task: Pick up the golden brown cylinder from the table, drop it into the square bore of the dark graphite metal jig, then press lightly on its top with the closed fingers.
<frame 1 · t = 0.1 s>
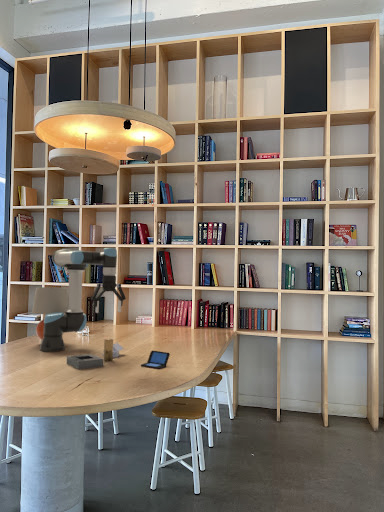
hand: (108, 312, 238), 28 cm above the table, tool pointing down, fingers open, 13 cm apart
golden brown cylinder: (108, 360, 239), on the table
lamp: (49, 344, 288), on the table
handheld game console: (155, 367, 228), on the table
wedge on round base: (112, 355, 254), on the table
jig block: (84, 365, 226), on the table
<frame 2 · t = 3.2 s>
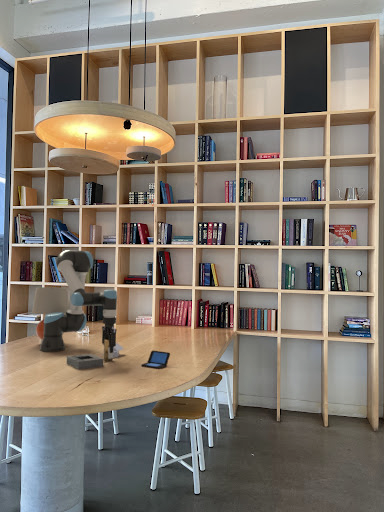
hand: (108, 357, 239), 2 cm above the table, tool pointing down, fingers closed on golden brown cylinder, 5 cm apart
golden brown cylinder: (108, 360, 239), on the table, touching gripper
everything else where it was.
when the fingers open (6 cm above the table, at t = 8.5 s): golden brown cylinder drops 3 cm, resting on jig block.
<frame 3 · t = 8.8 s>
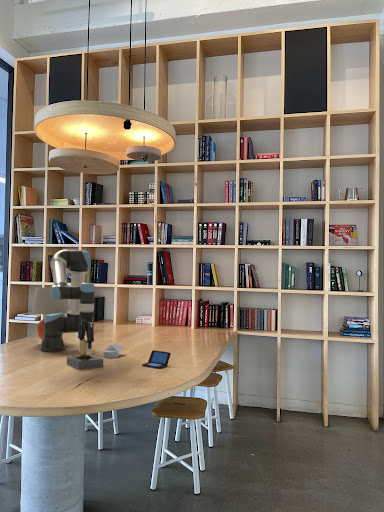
hand: (85, 353, 226), 6 cm above the table, tool pointing down, fingers open, 8 cm apart
golden brown cylinder: (84, 362, 226), point 1 cm above the table, touching jig block
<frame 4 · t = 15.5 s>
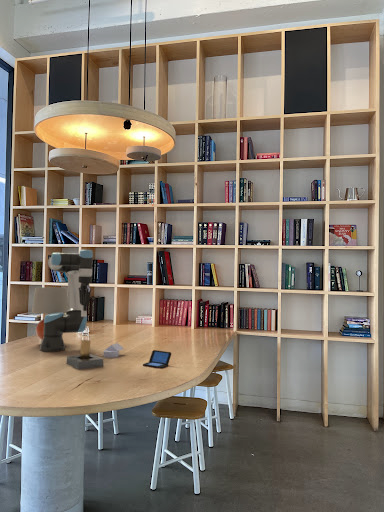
hand: (83, 316, 244), 24 cm above the table, tool pointing down, fingers closed
lamp: (49, 344, 289), on the table, touching arm
at the end: golden brown cylinder 0.1 cm off-centre on the jig block, point 1.1 cm above the jig block's base; golden brown cylinder tilted 2°; the gripper is holding nothing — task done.
